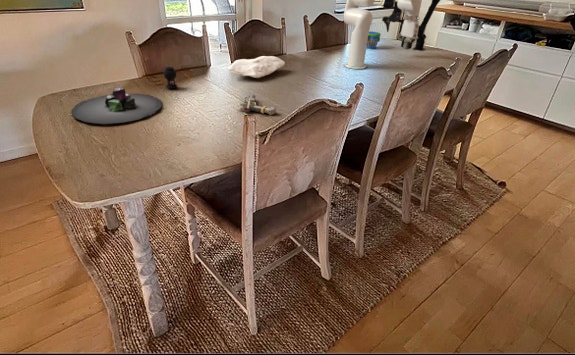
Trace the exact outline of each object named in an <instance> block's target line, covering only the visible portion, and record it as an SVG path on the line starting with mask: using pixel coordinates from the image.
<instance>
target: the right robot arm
mask: <svg viewBox="0 0 575 355" xmlns="http://www.w3.org/2000/svg"><path fill="white" fill-rule="evenodd" d="M397 2H398V0H384V1H383V5H382V8H383V9H385V10H386V9H387V10H392V9H393V11H391V14H390V15H389V16H383V17H382V19H381V21H382V22H383V23H384V24H385V27H386V32H387V33H389V31H390V26H391V23H401V24H400V27H399V31H398V34H399V33H400V32H401V30H402V26H403V23H404V20H406V18H403V19H402V13H403V10H401V9H399V8H398V6H397ZM440 2H441V0H431V3H430V5H429V7H428V9H427V11H426V13H425V15H424V18H423V19H422V21H421V23H420V24H419V27H418V34H417V36H418V39H417V40H415V46H414V47H413V49H412V50H417V51H424V50H425V48H424V47H425V42H426V39H427V35H426V34H425V32H426V29H427V26H428V23H429V22H430V20H431V18H432V16H433V13H434V12H435V10H436V8H437V6H438V4H439V3H440Z"/></svg>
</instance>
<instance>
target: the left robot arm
mask: <svg viewBox="0 0 575 355" xmlns="http://www.w3.org/2000/svg"><path fill="white" fill-rule="evenodd" d="M375 1H376V0H346V2H345V6H344V11H343V17H342V18H343V22H344V24H346V25H348V26H352V27H355V28H354V29H353V30H352V33H351V36H350V43H349V52H348V59H347V62H345V64H344V66H345V67H346V68H348V69H352V70H364V69H366V68H367V64H366V63H365V59H366V52H367V48H366V47H367V40H368V33H369V32H370V29H371V26H372V22H373V19H374V18H373V13H372V12H371V11H370V10H368V9H365V8H370V7H373V5H374V3H375ZM397 1H398V2H397V6H398V8H399V9H401V10H402V11H406V14H405V19H406V20H404V23H403V26H402V30H401V32H400V33H399V32H398V36H399V37H400V38H399V39H401V43H400V48H403V43H404V40H407V38H409V40H410V43H409V44H408V49H407V50H411V49H412V47H413V43H414V42H416V41H417V39H418V36H417V34H418V27H419V26H420V24H419V20H420V11H421V8H422V7H421V6H422V2H423V0H397ZM359 7H363V8H359ZM364 7H365V8H364Z"/></svg>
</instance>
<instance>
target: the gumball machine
mask: <svg viewBox="0 0 575 355" xmlns="http://www.w3.org/2000/svg"><path fill="white" fill-rule="evenodd" d="M176 69H177V67H176V66H174V67H173V66H166V67H165V68H164V67H162V68H161V70H162V71H163V76H162V78H165V79H166V80H167V81H166V84H165V86H164V87H165V88H167V89H168V90H174V89H176V88H177V89H179V85H178V84H176V83H177V82H178V78H177V71H176Z"/></svg>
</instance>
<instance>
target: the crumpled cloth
mask: <svg viewBox="0 0 575 355" xmlns="http://www.w3.org/2000/svg"><path fill="white" fill-rule="evenodd" d="M285 64H286V62H285V61H284V60H282V59H281V58H280V57H277V56H274V55H267V56H266V55H262V56H258V57H255V58H250V59H249V58H248V59H247V58H241V59H236V60H234V61H233V63H232V64H230V65H229V66H228V67H227V69H228V71H229V72H231V73H233V74H235V75H236V74H237V75H240V76H243V77H250V78H256V79H260V78H261V77H262V78H263V77H265V76H268V75H270V74H272V73H274V72H275V71H277V70H279V69H281V68H283V67H284V66H285Z"/></svg>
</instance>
